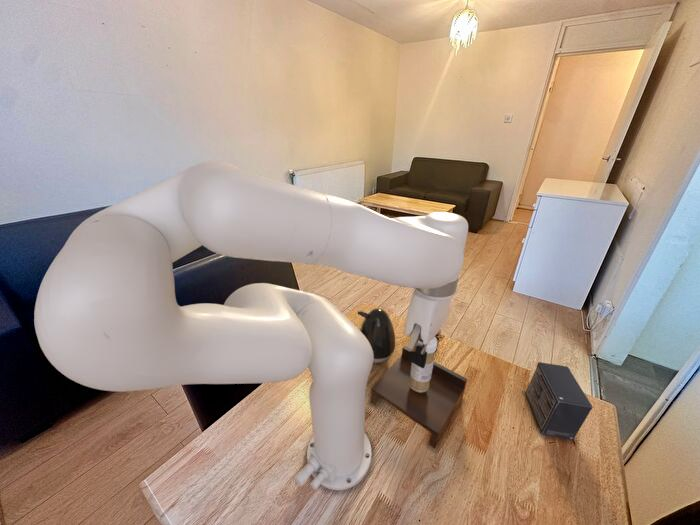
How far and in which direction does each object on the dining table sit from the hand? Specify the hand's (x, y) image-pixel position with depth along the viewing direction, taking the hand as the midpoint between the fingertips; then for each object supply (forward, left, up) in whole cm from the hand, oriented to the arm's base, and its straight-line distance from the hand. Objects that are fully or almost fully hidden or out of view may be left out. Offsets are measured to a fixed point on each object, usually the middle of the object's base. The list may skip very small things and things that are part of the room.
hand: (423, 355), depth 59 cm
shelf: (0, 0, -15) cm, 15 cm away
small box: (+16, -24, -15) cm, 32 cm away
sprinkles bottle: (0, 0, -9) cm, 9 cm away
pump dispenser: (+6, +16, -15) cm, 23 cm away
